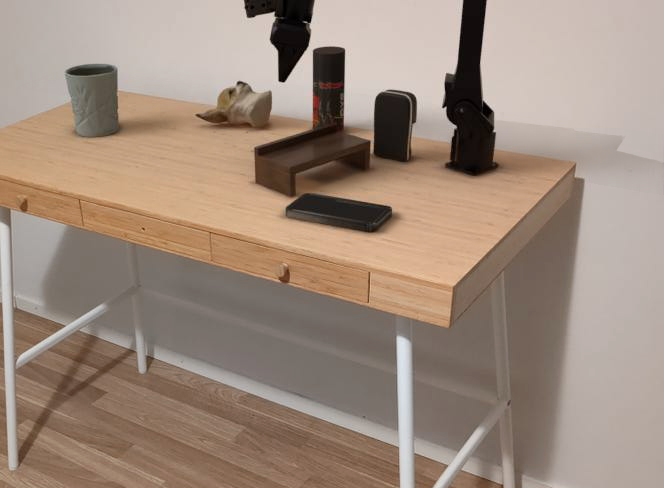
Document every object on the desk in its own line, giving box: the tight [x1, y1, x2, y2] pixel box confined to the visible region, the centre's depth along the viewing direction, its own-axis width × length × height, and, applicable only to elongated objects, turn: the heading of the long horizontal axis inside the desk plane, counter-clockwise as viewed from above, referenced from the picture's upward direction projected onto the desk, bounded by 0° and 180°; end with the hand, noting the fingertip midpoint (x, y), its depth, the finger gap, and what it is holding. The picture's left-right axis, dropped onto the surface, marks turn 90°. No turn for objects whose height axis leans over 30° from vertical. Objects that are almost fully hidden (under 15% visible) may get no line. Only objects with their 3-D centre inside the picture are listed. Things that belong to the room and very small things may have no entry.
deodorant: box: [312, 45, 346, 132], centre depth 168 cm, size 6×6×15 cm
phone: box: [285, 192, 393, 233], centre depth 137 cm, size 8×1×15 cm
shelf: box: [253, 123, 372, 198], centre depth 150 cm, size 9×18×6 cm, turn 127°
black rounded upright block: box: [372, 89, 418, 162], centre depth 155 cm, size 7×4×11 cm, turn 50°
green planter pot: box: [64, 63, 120, 138], centre depth 177 cm, size 10×10×12 cm
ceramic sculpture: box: [195, 80, 273, 128], centre depth 177 cm, size 11×9×15 cm
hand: (282, 73), depth 151 cm, fingers open, 9 cm apart
